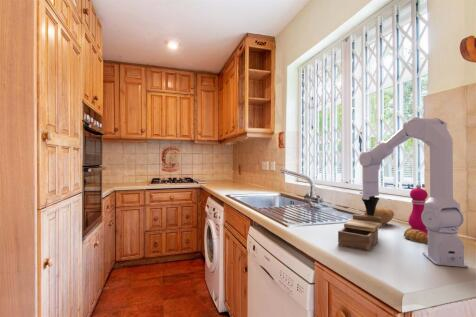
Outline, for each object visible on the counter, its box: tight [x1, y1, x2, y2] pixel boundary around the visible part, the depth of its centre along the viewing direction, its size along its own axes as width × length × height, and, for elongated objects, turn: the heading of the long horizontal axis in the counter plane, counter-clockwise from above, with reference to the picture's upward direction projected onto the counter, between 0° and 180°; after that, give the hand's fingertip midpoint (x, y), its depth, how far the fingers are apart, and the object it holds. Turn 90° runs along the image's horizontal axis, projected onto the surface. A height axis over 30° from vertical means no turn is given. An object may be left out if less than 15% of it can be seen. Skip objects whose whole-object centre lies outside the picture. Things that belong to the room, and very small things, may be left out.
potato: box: [363, 206, 395, 226], centre depth 122 cm, size 10×14×8 cm
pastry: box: [403, 227, 428, 244], centre depth 98 cm, size 9×7×4 cm
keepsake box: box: [337, 227, 379, 253], centre depth 94 cm, size 12×10×5 cm
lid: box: [343, 213, 383, 232], centre depth 99 cm, size 12×10×3 cm
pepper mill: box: [408, 183, 429, 234], centre depth 107 cm, size 7×7×20 cm
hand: (370, 215), depth 107 cm, fingers closed
